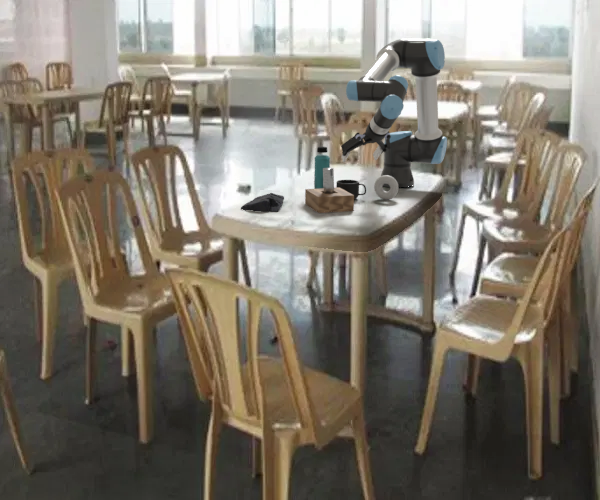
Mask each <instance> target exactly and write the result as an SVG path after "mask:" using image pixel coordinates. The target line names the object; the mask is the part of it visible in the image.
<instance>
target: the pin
mask: <svg viewBox="0 0 600 500" xmlns="http://www.w3.org/2000/svg"><path fill="white" fill-rule="evenodd" d="M334 171H335V169H334V167H330V168H323V187H324V194H333V193H334V188H335V178H334V177H335V176H334V175H335V173H334Z"/></svg>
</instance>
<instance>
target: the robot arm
mask: <svg viewBox="0 0 600 500" xmlns="http://www.w3.org/2000/svg"><path fill="white" fill-rule="evenodd" d="M444 48H445V47H444V45H443V43H442V42H441V40H439V39H435V38H434V39H433V38H400V39H396V40H393V41H392V42H389V43H388V44H386V45H384V47H382V48H381V49H380V50H379V51H378V52H377V55H376V57H375V59H374V61H373V62H372V64H371V65H369V67H368V68H367V70H366V71H365V72H364V73H363V74H362V76H360V78H359V79H353V80H352V79H351V80H349V81H348V82H347V84H346V87H345V88H346V89H345V91H346V93H345V94H346V98H347V99H348V100H349V101H354V102H372V103H373V102H374V103H375V102H376V103H380V104H379V106H378V108H377V110H376V112H375V114H374V115H373V117H372V118H371V119H370V121H369V123H368V124H367V126H366V128H365V132H363V134H360V132H356V133H354V136H352V137H351V138H350V139H348V140H347V141H345V142H344V143H342V144H341V145H340V146H341V150H342V154H341V156H340V157H341V160H342V163H345V162H346V160H348V157H349V156H350V154H351V152H352V151H354V150H355V149H358V148H360V147H361V146H366V145H367V144H375V143H376V144H377V145H378V146H377V147H376V148H375V150H374V152H373V153H372V156H373V159H374V161H377V160H378V158H379V157H380V156H381V155H382V154H383V168H382V171H381V174H380V176H379V177H381V176H383V175H389V176H392V177H393V178H394V179H395V180H396V181H397V183H398V187H407V188H409V187H408V186H412V185H415V179H414V175H413V173H412V169H411V167H412V166H411V164H412V163H415V164H416V163H417V164H428V165H429V164H430V165H439V164H442V163H443V161H444V158H445V156H446V152H447V146H448V138H447V137H446V136H443V131H442V130H441V129H440V128H439V105H438V103H439V102H438V81H437V80H438V78H437V77H438V75H439V74H441V70H442V69H443V68H444V67H445V59H446V55H445V49H444ZM396 69H410V72H411V73H410V74H411V75H412V76H413V77H414V78H415V96H416V114H417V115H416V116H417V117H416V119H417V130H416V131H415V132H414V134H413V131H411V130H404V131H394V132H390V130H391V128H392V126H393V125H394V123H395V122H396V120H397V119H398V118H399V116H401V114H402V111H403V109H404V102H405V97H406V95H407V93H408V92H407V91H408V88H409V83H408V80H407V79H406V78H405V77H404V76H401V75H398V74H396V75H392V76H390V77H389V79H388V81H387V80H386V78H387V77H388V76H389V75H390V73H391V72H394V71H395V70H396ZM385 80H386V81H385ZM383 140H384V142H383ZM412 187H413V186H412ZM383 188H390V186H389V184H386V183H385V184H384V185H383Z"/></svg>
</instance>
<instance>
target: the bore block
mask: <svg viewBox="0 0 600 500" xmlns="http://www.w3.org/2000/svg"><path fill="white" fill-rule="evenodd" d="M304 199H305V201H304V204H305V205H306V206H307V207H308V208H310V209H311V210H313V211H315V212H316V213H317V214H323V213H325V214H326V213H327V214H329V213H341V212H353V211H355V210H354V209H355V208H354V207H355V199H354V195H353V194H351V193H349V192H347V191H345V190H343V189H341V188H339V187H338V188H336V187H334V193H333V194H324V188H319V189H315V188H305V195H304Z"/></svg>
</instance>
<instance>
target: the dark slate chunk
mask: <svg viewBox="0 0 600 500" xmlns="http://www.w3.org/2000/svg"><path fill="white" fill-rule="evenodd" d="M284 200H285V195H280V194H276V193H272V192H271V193H266V194H264V195H263V194H262V195H261V196H260V195H259V196H257V197H255V198H254V199H252V200H250V201H248V202H247V203H244V204H243V205H242V206H241V207H240V209H243V210H253V211H252V212H255V211H261V212H260V213H262V212H264V213H273V212H275V213H278V212H279V211H280V209H281V208H282V206H283V204H284ZM243 210H242V211H243Z"/></svg>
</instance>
